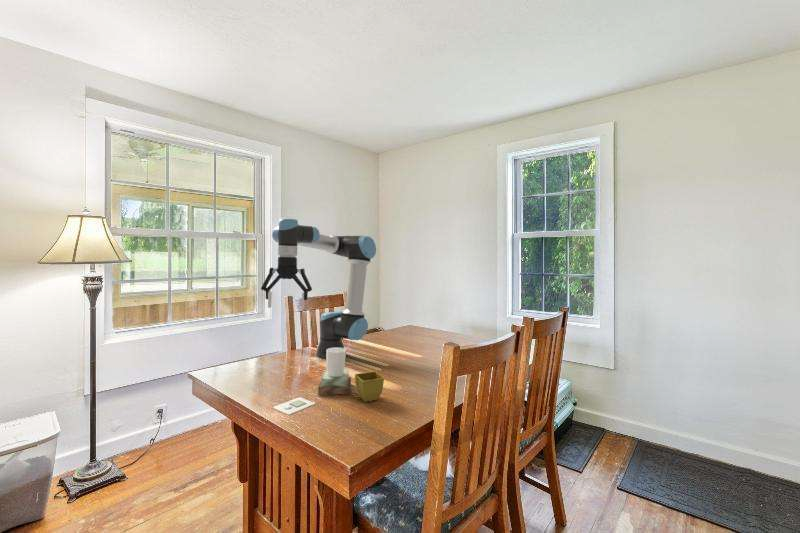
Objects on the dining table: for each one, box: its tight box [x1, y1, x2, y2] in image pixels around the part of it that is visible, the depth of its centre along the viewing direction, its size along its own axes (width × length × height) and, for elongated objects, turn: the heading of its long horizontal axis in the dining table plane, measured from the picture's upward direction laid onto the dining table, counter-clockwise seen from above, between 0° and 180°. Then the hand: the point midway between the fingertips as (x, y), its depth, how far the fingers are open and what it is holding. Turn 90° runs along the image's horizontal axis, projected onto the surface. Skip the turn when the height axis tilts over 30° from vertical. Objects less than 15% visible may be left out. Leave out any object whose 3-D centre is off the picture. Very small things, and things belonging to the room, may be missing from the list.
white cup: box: [325, 347, 347, 377], centre depth 148 cm, size 8×8×10 cm
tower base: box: [317, 369, 352, 396], centre depth 148 cm, size 12×12×6 cm
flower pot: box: [354, 370, 385, 403], centre depth 139 cm, size 9×9×9 cm
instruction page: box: [271, 396, 316, 416], centre depth 131 cm, size 12×9×1 cm
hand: (286, 307), depth 152 cm, fingers open, 13 cm apart
